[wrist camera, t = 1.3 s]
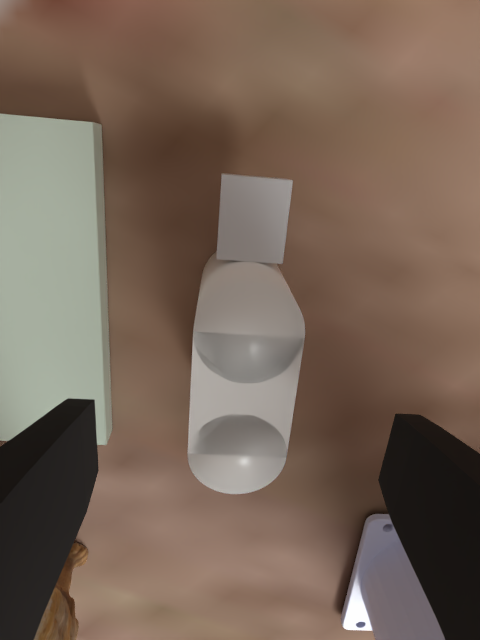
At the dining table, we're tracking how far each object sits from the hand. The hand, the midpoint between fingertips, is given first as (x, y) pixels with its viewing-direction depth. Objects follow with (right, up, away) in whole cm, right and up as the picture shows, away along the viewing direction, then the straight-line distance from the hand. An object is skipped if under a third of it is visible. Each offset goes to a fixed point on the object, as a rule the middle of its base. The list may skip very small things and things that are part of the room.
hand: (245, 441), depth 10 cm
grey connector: (0, +4, +6) cm, 7 cm away
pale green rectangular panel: (-10, +4, +5) cm, 12 cm away
